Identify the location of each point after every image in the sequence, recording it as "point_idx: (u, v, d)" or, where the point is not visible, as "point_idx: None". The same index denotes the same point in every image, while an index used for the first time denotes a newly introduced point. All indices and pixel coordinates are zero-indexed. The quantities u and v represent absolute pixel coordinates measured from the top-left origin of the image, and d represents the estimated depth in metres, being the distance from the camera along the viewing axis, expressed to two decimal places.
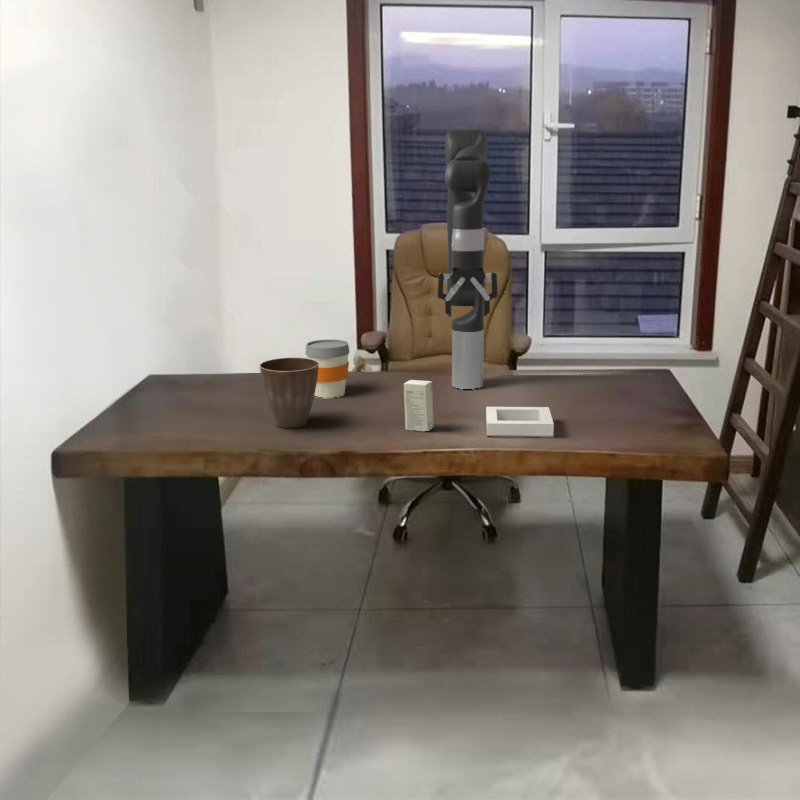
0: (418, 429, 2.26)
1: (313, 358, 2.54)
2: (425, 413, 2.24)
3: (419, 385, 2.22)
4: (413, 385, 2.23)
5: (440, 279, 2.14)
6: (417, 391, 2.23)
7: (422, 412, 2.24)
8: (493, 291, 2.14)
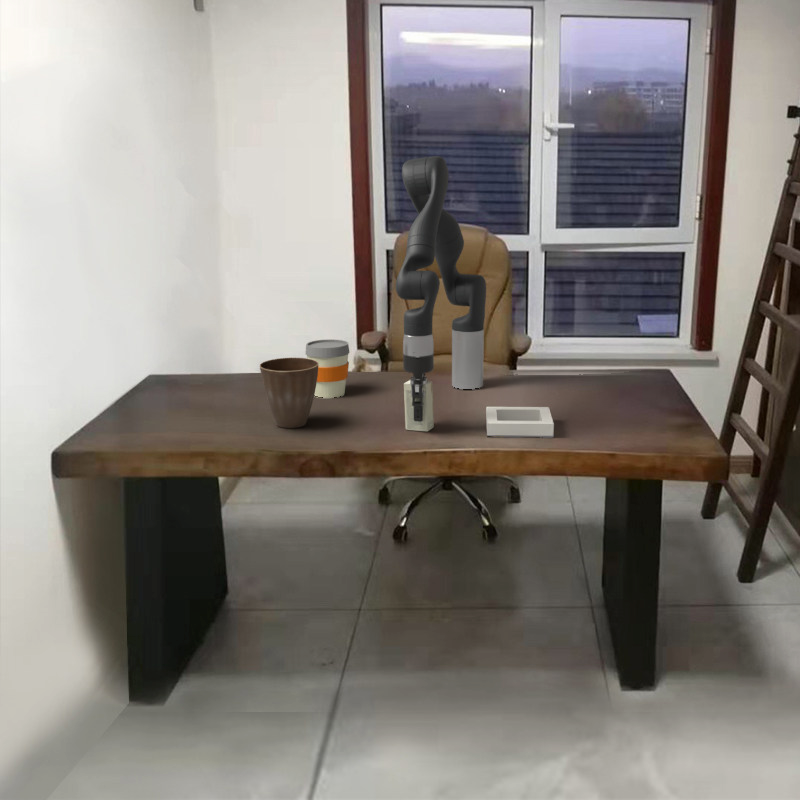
0: (418, 429, 2.26)
1: (313, 358, 2.54)
2: (425, 413, 2.24)
3: None
4: None
5: None
6: None
7: None
8: None
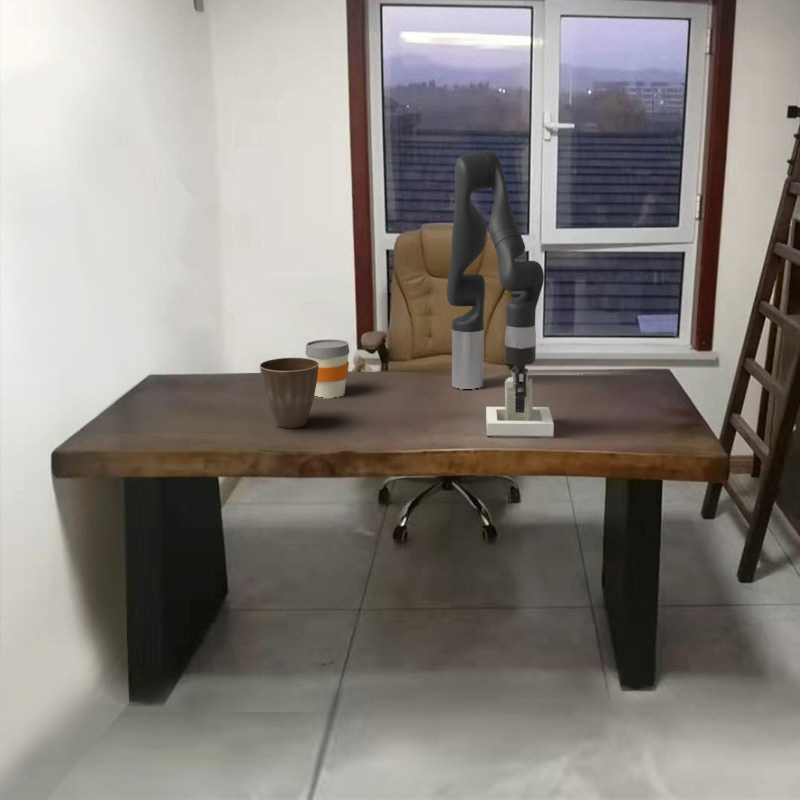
0: None
1: (313, 358, 2.54)
2: (527, 410, 2.23)
3: None
4: (515, 382, 2.22)
5: (526, 379, 2.17)
6: None
7: (524, 409, 2.23)
8: None
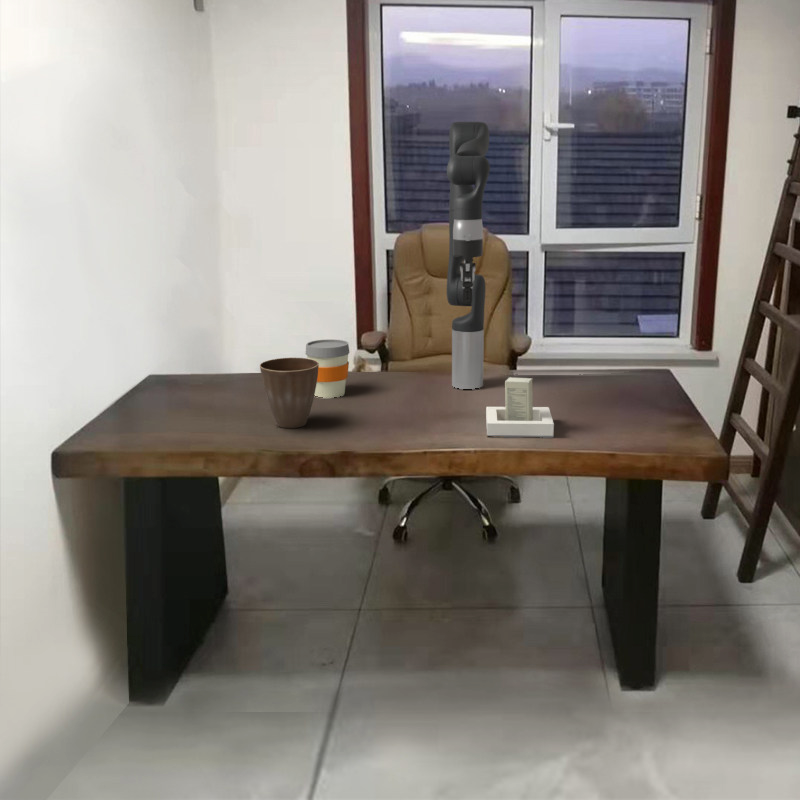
0: None
1: (313, 358, 2.54)
2: (527, 410, 2.23)
3: (521, 382, 2.21)
4: (515, 382, 2.22)
5: (472, 268, 2.25)
6: (519, 388, 2.22)
7: (524, 410, 2.23)
8: None
